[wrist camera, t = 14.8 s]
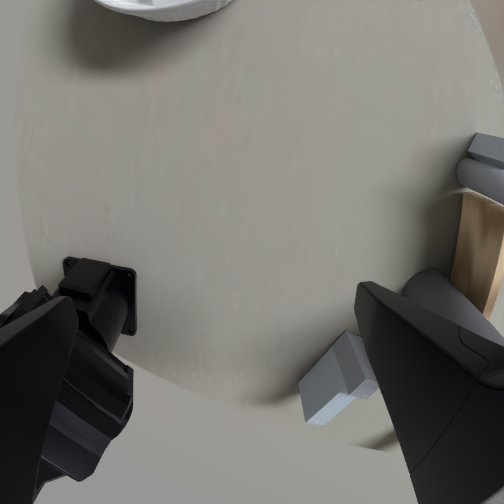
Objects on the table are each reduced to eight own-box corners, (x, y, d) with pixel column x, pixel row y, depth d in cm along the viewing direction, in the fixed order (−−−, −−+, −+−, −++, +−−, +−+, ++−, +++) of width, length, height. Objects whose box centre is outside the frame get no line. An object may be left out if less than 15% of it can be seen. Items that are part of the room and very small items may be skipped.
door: (463, 192, 20) (507, 214, 15) (480, 191, 20) (523, 213, 15) (436, 332, 26) (461, 367, 21) (452, 327, 26) (478, 361, 21)
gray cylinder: (414, 321, 26) (474, 414, 15) (392, 294, 25) (461, 395, 14) (450, 289, 25) (522, 371, 14) (432, 258, 23) (518, 343, 12)
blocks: (315, 388, 29) (326, 434, 24) (296, 382, 29) (305, 430, 23) (489, 148, 19) (538, 163, 14) (475, 131, 19) (526, 142, 13)
